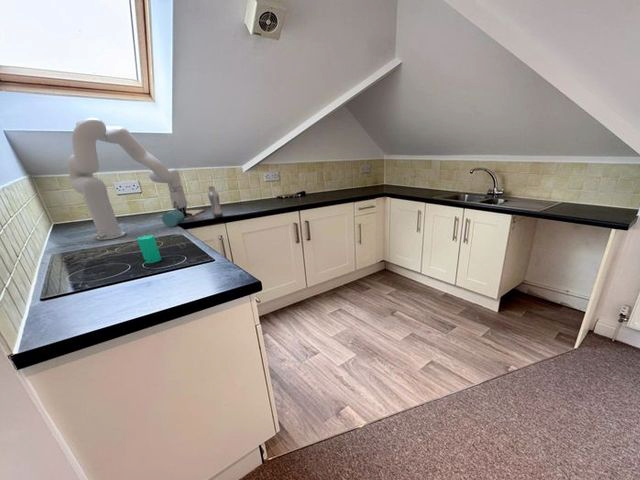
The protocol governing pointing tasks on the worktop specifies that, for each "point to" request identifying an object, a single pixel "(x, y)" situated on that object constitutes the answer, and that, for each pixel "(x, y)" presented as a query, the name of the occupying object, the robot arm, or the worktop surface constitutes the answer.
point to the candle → (149, 248)
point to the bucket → (174, 218)
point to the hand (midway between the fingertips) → (184, 218)
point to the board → (194, 212)
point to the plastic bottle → (215, 202)
